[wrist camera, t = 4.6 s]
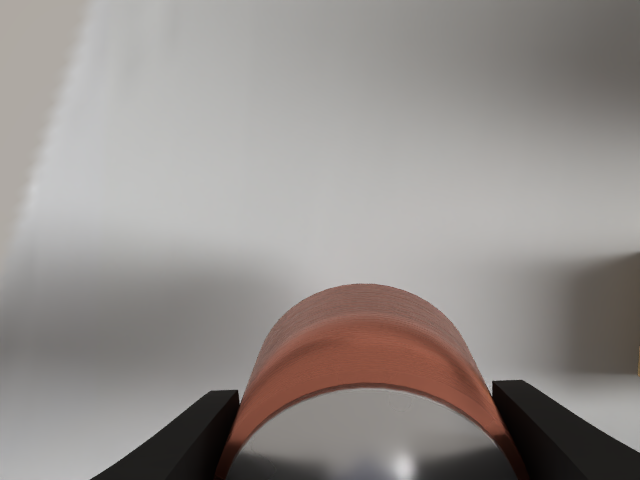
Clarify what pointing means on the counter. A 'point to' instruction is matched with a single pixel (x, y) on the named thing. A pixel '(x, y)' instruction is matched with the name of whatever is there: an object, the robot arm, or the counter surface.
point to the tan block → (639, 364)
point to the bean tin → (367, 397)
